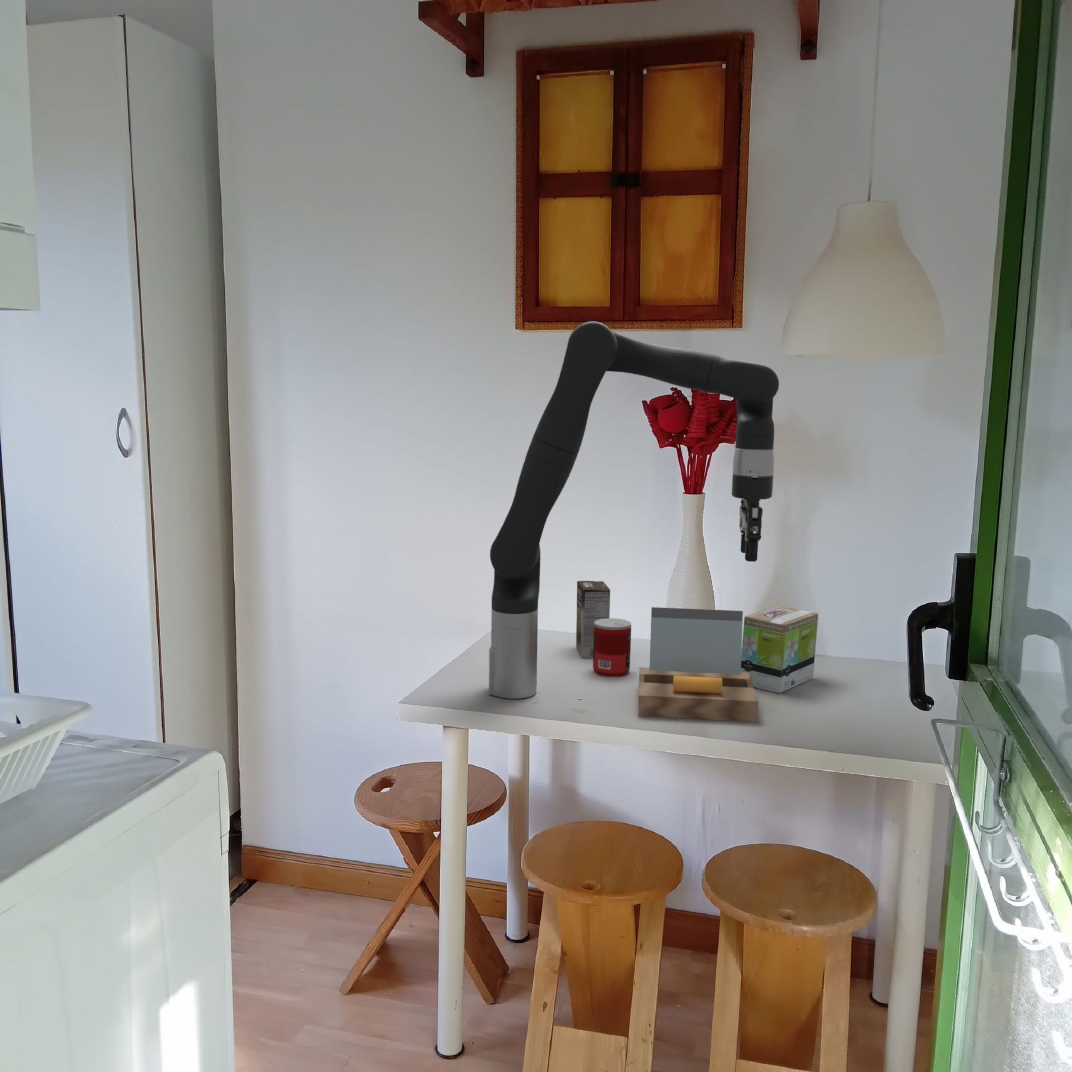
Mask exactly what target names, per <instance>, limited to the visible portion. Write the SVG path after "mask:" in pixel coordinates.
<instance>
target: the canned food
mask: <svg viewBox="0 0 1072 1072" xmlns="http://www.w3.org/2000/svg"><path fill="white" fill-rule="evenodd" d="M631 643H632V622H631V621H629V620H626V619H622V618H611V617H609V618H606V619H599V620H596V621H595V622H594V640H593V658H592V670H593V672H594V673H595V674H597V675H598V676H604V677H609V678H610V677H611V678H612V677H614V678H615V677H616V678H618V677H624V676H627V675H628V674H629V672H630V668H631V645H632V644H631Z"/></svg>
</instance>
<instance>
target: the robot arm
mask: <svg viewBox="0 0 1072 1072" xmlns="http://www.w3.org/2000/svg"><path fill="white" fill-rule="evenodd" d="M566 344H567V345H566V350H565V354H564V358H563V360H562V361H563V362H562V365H561V368H560V373H559V376H558V380H557V383H556V386H555V388H554V390H553V392H552V395H551V397H550V399H549V401H548V402H547V405H546V406H545V409H544V411H543V413H542V415H541V418H540V420H539V421H538V424H537V426H536V429H535V431H534V433H533V435H532V438H531V441H530V443H529V446H528V450H527V452H526V455H525V457H524V461H523V464H522V467H521V471H520V474H519V476H518V480H517V484H516V485H517V486H516V488H515V493H514V496H513V500H512V502H511V506H510V508H509V510H508V513H507V515H506V517H505V519H504V521H503V524H502V525H501V527H500V529H499V531H498V533H497V535H496V537H495V538H494V540H493V542H492V544H491V546H490V550H489V558H490V563H491V566H492V568H493V571H494V572H493V587H492V588H493V589H492V592H491V614H490V615H491V616H490V617H491V623H490V624H491V626H490V627H491V630H490V631H491V632H490V633H491V635H490V636H491V637H490V638H491V640H490V647H489V651H488V695H489V696H495V697H498V698H503V699H512V700H513V699H514V700H515V699H527V698H530V697H532V696H535V695H536V694H537V686H538V685H537V684H538V635H539V634H538V631H539V630H538V629H539V626H538V623H539V621H538V619H539V618H538V617H539V597H540V586H541V585H540V582H541V580H540V579H541V578H540V577H541V545H540V543H541V539H542V536H543V532H544V529H545V525H546V523H547V520H548V517H549V515H550V513H551V511H552V509H553V507H554V506H555V504H556V502H557V500H558V499H559V496H560V495H561V493H562V491H563V489H564V488H565V486H566V483H567V481H568V479H569V477H570V475H571V473H572V470H573V468H574V465H575V463H576V460H577V457H578V455H579V453H580V450H581V447H582V443H583V439H584V436H585V432H586V429H587V424H588V419H589V414H590V411H591V410H590V409H591V405H592V402H593V400H594V397H595V395H596V393H597V391H598V388H599V386H600V384H601V383H602V380H603V378H604V377H605V375H606V373H607V372H615V373H626V374H632V375H636V376H637V375H638V376H642V377H646V378H650V379H654V380H656V381H660V382H664V383H667V384H670V385H673V386H677V387H682V388H685V389H690V390H693V391H697V392H703V393H707V394H714V395H715V394H716V395H717V394H718V395H723V396H727V397H730V398H734V399H736V411H737V412H736V414H737V420H736V422H737V424H736V428H735V429H736V431H735V446H734V447H735V448H734V455H733V460H732V461H733V462H732V479H731V480H732V483H731V495H732V497H733V498H737V499H741V500H740V506H739V519H738V520H739V521H738V523H739V531H740V535H741V536H740V537H741V538H740V552H741V553H742V554H744V560H745V561H746V562H753V563H755V562H756V561H758V551H759V542H760V541H761V539H762V528H763V526H762V525H763V522H762V521H763V520H762V518H763V515H764V510H763V507H761V506H760V501H761V500H769V499H771V498H772V496H773V490H774V489H773V488H774V487H773V486H774V469H775V456H774V444H775V423H774V420H773V407H774V397H775V396H776V395H777V394H778V391H779V388H780V381H779V377H778V375H777V374H776V372H775V371H774V370H773V369H772V368H770V367H769V366H766V365H762V364H759V363H758V364H757V363H751V362H746V361H740V360H732V359H728V358H725V357H722V356H719V355H715V354H714V355H713V354H711V353H706V352H703V351H702V352H701V351H696V350H693V349H687V348H683V347H673V346H667V345H660V344H655V343H649V342H644V341H641V340H637V339H633V338H630V337H628V336H625V335H623V334H621V333H618V332H615V331H613V330H612V329H611V328H609V327H608V326H607V325H606V324H604V323H602V322H599V321H586V322H584V323H581V324H580V325H578V326H576V327H575V328H574V329H573V330H572V332H571V333H570V336H569V337H568V341H567V343H566Z"/></svg>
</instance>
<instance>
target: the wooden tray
mask: <svg viewBox="0 0 1072 1072" xmlns="http://www.w3.org/2000/svg"><path fill="white" fill-rule="evenodd" d="M649 669H650V667H639V671H638V672H639V673H638V704H637V705H638V707H637V709H638V710H637V716H638V717H653V718H654V717H657V718H658V717H659V718H671V719H672V718H674V719H676V718H677V719H693V720H695V719H696V720H709V721H710V720H712V721H713V720H714V721H715V720H716V721H728V722H729V721H730V722H731V721H732V722H750V723H757V722H758V713H759V712H758V710H759V709H758V708H759V699H758V697H757V693H756V691H755V689H754V688H755V687H753V685H752V682H751V679H750V676H749V673H747V672H741V675H739V674H718V673H697V672H676V671H655V670H649ZM674 676H690V677H711V678H722V694H711V693H691V692H673V679H674Z"/></svg>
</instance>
